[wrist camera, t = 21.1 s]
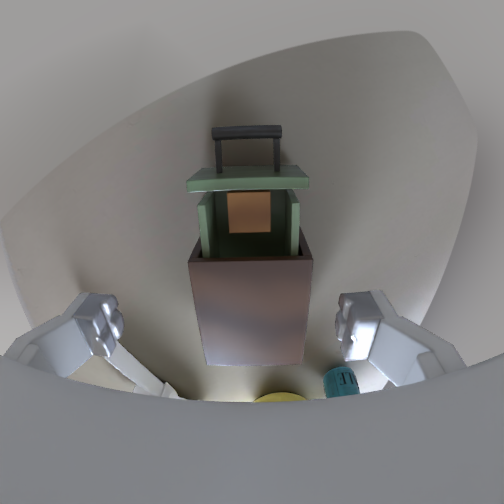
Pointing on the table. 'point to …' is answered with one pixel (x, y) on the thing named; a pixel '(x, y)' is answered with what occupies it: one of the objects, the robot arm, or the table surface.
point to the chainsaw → (139, 374)
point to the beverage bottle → (340, 382)
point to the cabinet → (252, 306)
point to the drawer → (248, 178)
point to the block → (249, 210)
